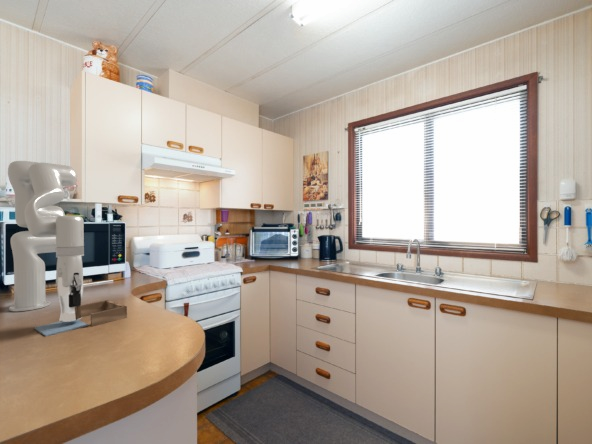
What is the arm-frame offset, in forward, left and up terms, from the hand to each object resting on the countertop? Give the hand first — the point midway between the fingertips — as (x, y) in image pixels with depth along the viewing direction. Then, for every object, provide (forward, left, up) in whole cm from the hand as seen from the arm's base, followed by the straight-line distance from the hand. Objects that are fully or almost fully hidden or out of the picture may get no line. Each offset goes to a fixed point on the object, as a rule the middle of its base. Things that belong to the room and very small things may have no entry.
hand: (70, 304), depth 98 cm
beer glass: (0, 0, -5) cm, 5 cm away
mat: (0, -3, -7) cm, 7 cm away
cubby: (0, +8, -7) cm, 11 cm away
